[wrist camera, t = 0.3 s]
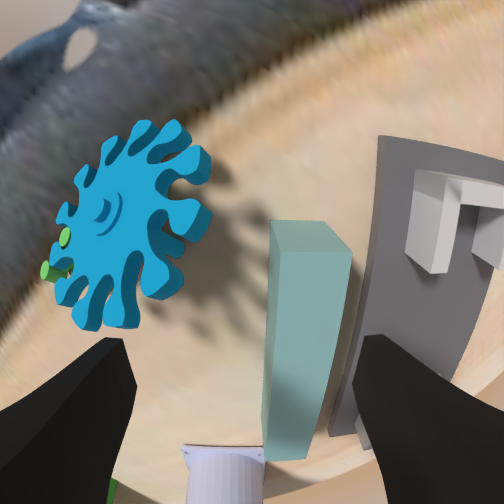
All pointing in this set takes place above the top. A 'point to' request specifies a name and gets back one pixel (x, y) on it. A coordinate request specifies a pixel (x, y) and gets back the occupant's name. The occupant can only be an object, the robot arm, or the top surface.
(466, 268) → the cradle
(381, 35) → the top surface
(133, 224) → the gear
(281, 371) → the teal rectangular block
